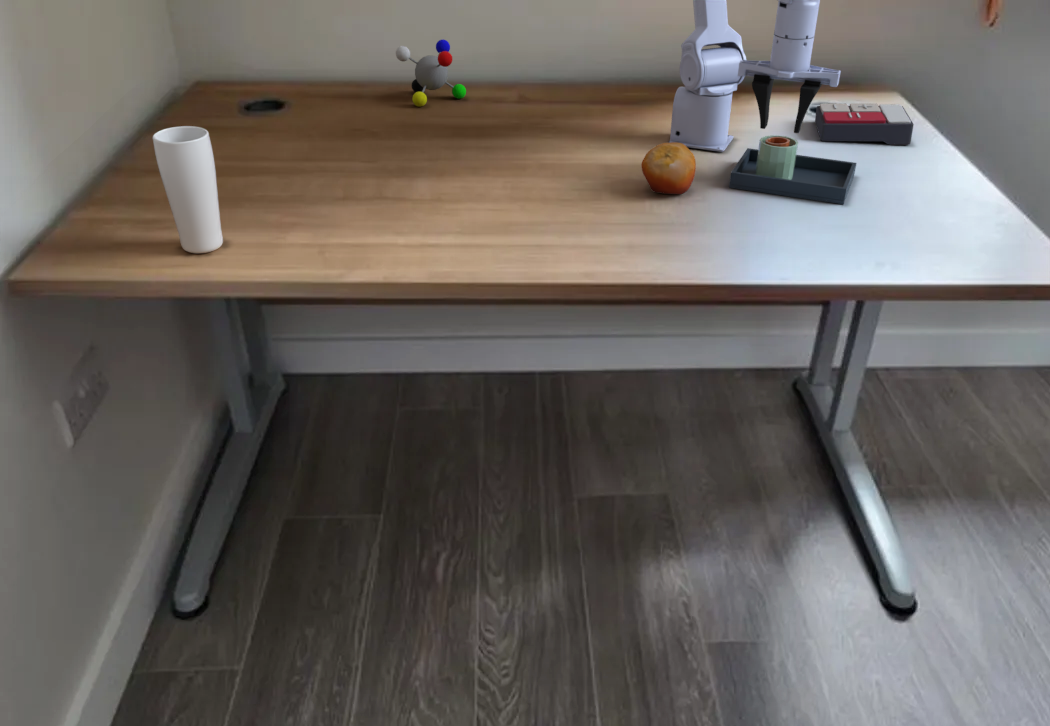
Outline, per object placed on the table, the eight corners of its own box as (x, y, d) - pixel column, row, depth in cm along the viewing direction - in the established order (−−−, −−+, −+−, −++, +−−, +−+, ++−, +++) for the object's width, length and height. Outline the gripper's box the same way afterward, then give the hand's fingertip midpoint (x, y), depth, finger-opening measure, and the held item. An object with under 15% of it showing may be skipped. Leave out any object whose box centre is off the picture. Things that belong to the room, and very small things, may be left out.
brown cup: (761, 172, 150) (763, 143, 148) (765, 164, 153) (768, 136, 151) (784, 174, 149) (787, 145, 147) (788, 166, 152) (791, 137, 149)
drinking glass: (182, 236, 131) (159, 125, 123) (234, 235, 132) (214, 125, 123) (170, 258, 126) (145, 143, 117) (224, 256, 126) (202, 142, 118)
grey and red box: (816, 101, 175) (903, 100, 173) (814, 125, 177) (899, 125, 175) (823, 119, 166) (915, 119, 164) (820, 144, 168) (910, 145, 166)
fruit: (702, 171, 150) (701, 135, 143) (690, 212, 147) (688, 178, 140) (651, 165, 153) (647, 129, 145) (638, 205, 149) (634, 170, 142)
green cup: (752, 179, 150) (756, 144, 147) (759, 167, 155) (763, 133, 152) (789, 184, 149) (794, 149, 146) (795, 172, 153) (800, 138, 150)
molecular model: (389, 104, 182) (385, 49, 177) (422, 87, 192) (419, 34, 186) (443, 112, 179) (441, 57, 173) (474, 94, 188) (473, 41, 183)
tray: (728, 187, 149) (730, 172, 148) (745, 162, 158) (747, 148, 157) (843, 204, 144) (846, 189, 143) (853, 177, 153) (856, 162, 152)
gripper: (738, 35, 139) (727, 130, 147) (841, 46, 135) (825, 143, 142) (748, 25, 144) (737, 117, 152) (848, 35, 140) (831, 129, 148)
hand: (780, 129), depth 148 cm, fingers open, 4 cm apart
